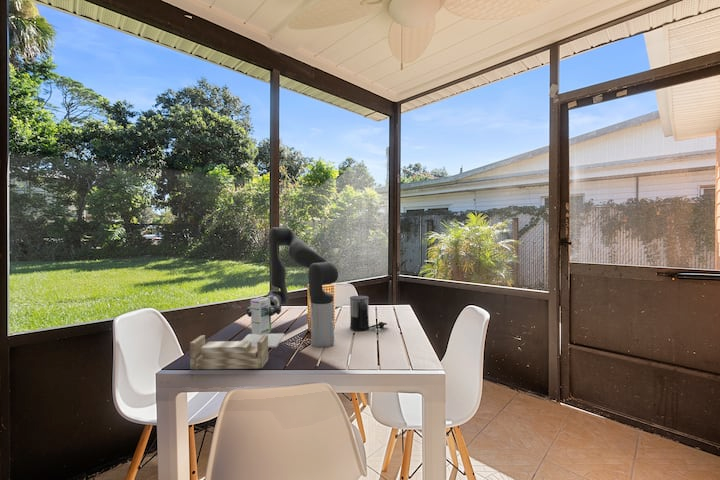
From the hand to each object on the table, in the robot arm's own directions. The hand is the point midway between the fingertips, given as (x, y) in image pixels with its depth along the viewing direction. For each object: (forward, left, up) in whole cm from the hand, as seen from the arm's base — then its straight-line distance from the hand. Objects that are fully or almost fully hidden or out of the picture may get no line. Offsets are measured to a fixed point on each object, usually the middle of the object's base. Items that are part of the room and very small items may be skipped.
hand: (259, 314), depth 138 cm
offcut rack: (+4, +22, -12) cm, 25 cm away
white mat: (0, -2, -12) cm, 12 cm away
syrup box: (0, -2, -8) cm, 9 cm away
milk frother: (-46, -18, -12) cm, 51 cm away
